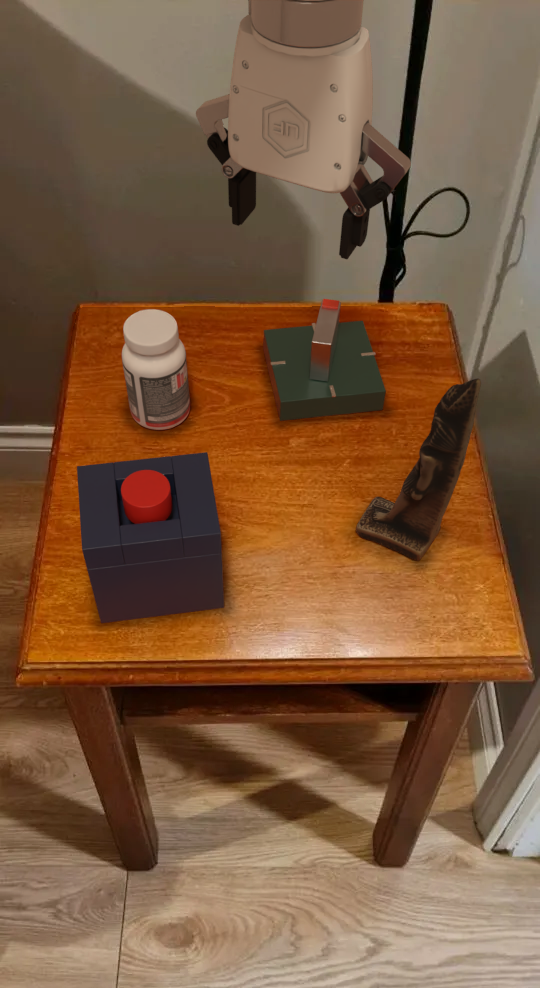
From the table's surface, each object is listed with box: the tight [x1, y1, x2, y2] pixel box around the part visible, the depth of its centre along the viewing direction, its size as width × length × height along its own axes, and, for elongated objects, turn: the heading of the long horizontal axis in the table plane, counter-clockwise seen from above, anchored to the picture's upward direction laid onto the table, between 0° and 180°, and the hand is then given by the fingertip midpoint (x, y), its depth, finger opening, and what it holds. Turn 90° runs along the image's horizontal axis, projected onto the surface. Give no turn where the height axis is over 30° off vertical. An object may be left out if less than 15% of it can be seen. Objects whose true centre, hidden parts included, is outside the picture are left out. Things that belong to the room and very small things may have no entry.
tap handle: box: [309, 298, 342, 382], centre depth 85 cm, size 6×2×5 cm, turn 169°
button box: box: [76, 451, 225, 624], centre depth 72 cm, size 10×8×10 cm
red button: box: [121, 470, 172, 524], centre depth 67 cm, size 4×4×2 cm
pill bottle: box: [121, 308, 191, 431], centre depth 82 cm, size 6×6×10 cm
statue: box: [355, 378, 482, 562], centre depth 70 cm, size 4×7×20 cm, turn 62°
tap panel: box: [262, 320, 387, 422], centre depth 88 cm, size 10×10×3 cm
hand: (296, 232), depth 75 cm, fingers open, 9 cm apart
